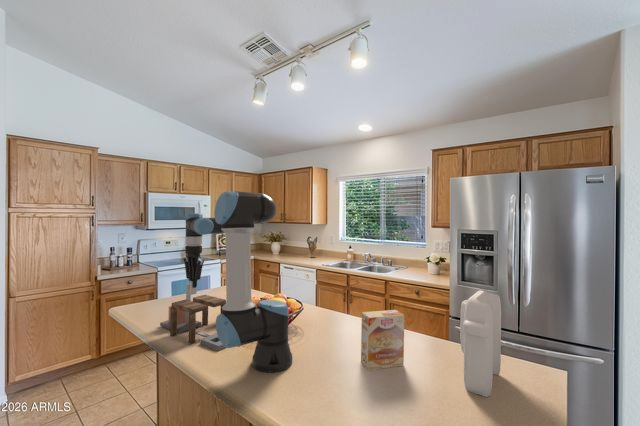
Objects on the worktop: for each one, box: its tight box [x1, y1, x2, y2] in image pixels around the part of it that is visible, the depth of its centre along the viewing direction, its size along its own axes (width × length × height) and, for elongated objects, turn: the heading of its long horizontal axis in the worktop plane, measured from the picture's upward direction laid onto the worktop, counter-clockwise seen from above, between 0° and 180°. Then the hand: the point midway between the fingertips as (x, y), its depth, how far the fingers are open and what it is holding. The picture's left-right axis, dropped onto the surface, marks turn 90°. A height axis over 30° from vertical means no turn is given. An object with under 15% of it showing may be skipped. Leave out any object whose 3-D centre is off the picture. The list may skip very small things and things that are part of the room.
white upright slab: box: [459, 289, 503, 398], centre depth 107 cm, size 27×11×30 cm, turn 141°
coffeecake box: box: [360, 309, 405, 371], centre depth 117 cm, size 15×7×20 cm, turn 105°
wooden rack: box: [169, 294, 226, 345], centre depth 150 cm, size 36×19×15 cm, turn 57°
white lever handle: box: [159, 283, 202, 334], centre depth 153 cm, size 16×12×21 cm
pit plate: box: [200, 332, 227, 352], centre depth 136 cm, size 12×14×2 cm
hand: (193, 294), depth 148 cm, fingers closed
